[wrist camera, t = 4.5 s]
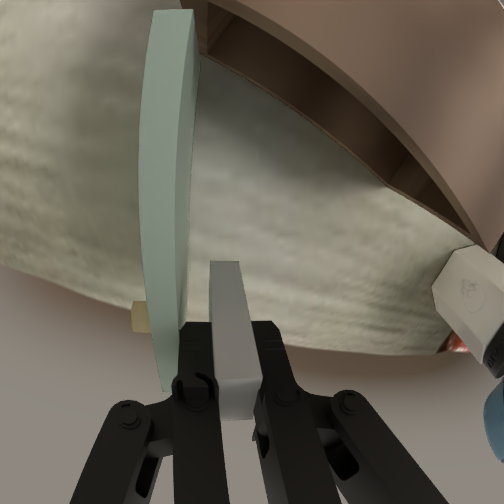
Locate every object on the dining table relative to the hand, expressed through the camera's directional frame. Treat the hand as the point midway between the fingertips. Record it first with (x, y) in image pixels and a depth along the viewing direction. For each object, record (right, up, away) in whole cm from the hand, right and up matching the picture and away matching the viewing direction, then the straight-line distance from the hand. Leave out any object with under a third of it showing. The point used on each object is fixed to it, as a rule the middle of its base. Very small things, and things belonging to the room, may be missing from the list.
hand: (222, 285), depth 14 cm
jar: (+24, -1, +11) cm, 27 cm away
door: (-3, +6, +2) cm, 7 cm away
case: (+7, +14, 0) cm, 15 cm away
